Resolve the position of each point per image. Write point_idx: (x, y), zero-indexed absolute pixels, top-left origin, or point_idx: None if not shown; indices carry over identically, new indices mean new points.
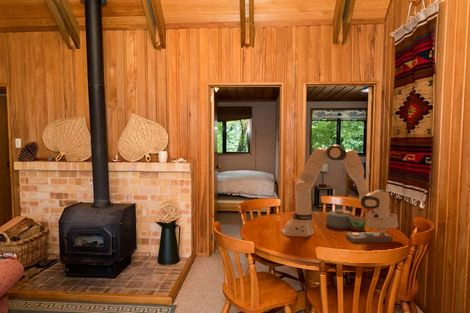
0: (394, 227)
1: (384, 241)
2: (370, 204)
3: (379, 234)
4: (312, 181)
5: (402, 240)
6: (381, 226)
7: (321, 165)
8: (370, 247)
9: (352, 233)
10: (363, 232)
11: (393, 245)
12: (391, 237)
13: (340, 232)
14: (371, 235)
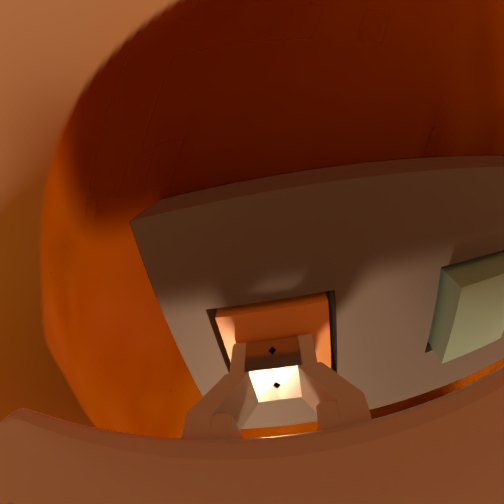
0: (42, 417)
1: (290, 173)
2: None
3: (319, 344)
4: None
5: (55, 272)
6: (340, 468)
7: None
8: (489, 14)
9: None
10: (456, 376)
11: (203, 38)
12: (152, 214)
13: None
14: (469, 269)
